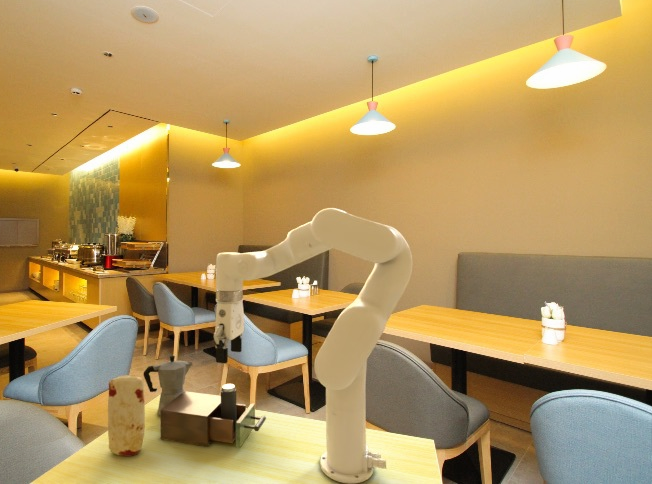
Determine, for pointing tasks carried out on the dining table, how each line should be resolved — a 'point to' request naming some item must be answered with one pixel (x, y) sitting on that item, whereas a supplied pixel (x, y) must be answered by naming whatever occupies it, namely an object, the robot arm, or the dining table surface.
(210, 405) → the cabinet
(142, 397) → the food model
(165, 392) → the coffeepot
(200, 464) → the dining table surface
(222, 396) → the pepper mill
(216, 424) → the drawer
